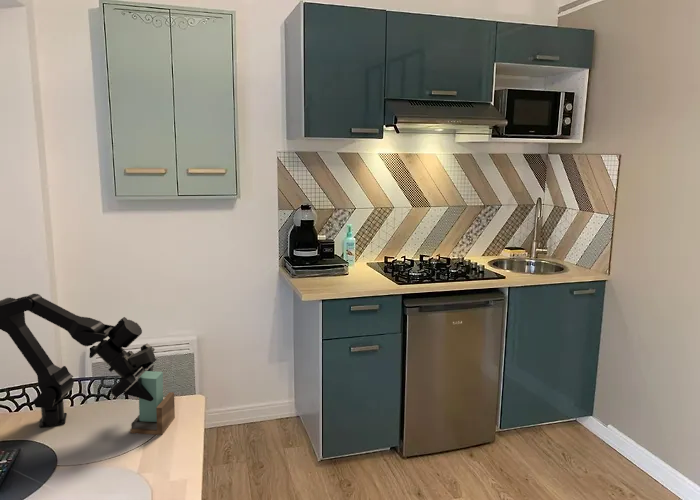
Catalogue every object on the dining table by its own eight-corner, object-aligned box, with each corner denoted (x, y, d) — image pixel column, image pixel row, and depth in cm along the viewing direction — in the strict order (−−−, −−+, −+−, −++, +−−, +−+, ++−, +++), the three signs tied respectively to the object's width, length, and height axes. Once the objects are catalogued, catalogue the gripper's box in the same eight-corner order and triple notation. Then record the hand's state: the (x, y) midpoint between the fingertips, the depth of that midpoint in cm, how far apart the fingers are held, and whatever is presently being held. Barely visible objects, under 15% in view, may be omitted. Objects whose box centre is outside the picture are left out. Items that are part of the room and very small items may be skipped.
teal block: (139, 421, 154) (138, 377, 151) (146, 412, 159) (145, 370, 156) (156, 422, 153) (156, 378, 151) (163, 413, 158) (162, 371, 156)
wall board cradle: (130, 433, 152) (129, 406, 150) (144, 416, 161) (144, 391, 160) (162, 434, 151) (161, 408, 150) (174, 417, 161) (174, 392, 160)
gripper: (121, 351, 143) (163, 392, 145) (149, 328, 161) (186, 365, 163) (92, 377, 144) (134, 418, 146) (123, 352, 163) (160, 388, 164)
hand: (155, 396), depth 155 cm, fingers closed on teal block, 5 cm apart
